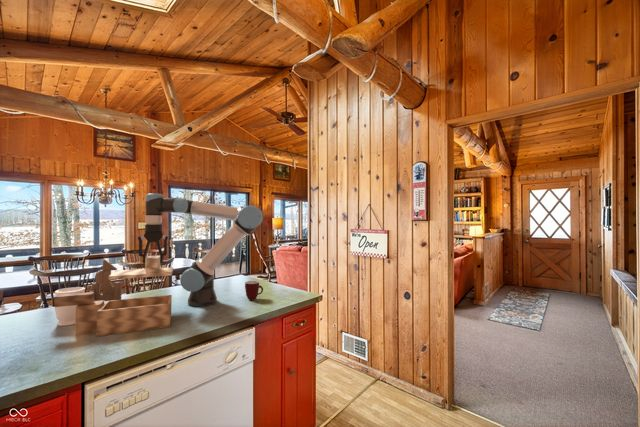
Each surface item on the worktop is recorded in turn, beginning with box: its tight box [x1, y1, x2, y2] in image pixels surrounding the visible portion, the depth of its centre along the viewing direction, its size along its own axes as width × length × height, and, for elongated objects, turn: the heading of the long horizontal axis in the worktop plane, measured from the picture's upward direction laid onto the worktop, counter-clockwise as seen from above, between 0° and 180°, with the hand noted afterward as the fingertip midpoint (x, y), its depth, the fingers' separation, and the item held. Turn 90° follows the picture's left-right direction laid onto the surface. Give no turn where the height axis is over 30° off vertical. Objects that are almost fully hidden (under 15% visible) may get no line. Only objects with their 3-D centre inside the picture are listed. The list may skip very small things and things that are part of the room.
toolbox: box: [74, 294, 173, 337], centre depth 128 cm, size 34×16×12 cm, turn 115°
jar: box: [54, 286, 86, 327], centre depth 131 cm, size 11×10×15 cm
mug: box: [244, 280, 264, 301], centre depth 172 cm, size 10×8×10 cm
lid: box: [109, 255, 174, 280], centre depth 147 cm, size 26×16×8 cm, turn 115°
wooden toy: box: [89, 258, 123, 302], centre depth 155 cm, size 16×7×25 cm, turn 121°
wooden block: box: [53, 291, 95, 308], centre depth 120 cm, size 12×4×4 cm, turn 115°
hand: (152, 269), depth 149 cm, fingers closed on lid, 5 cm apart
